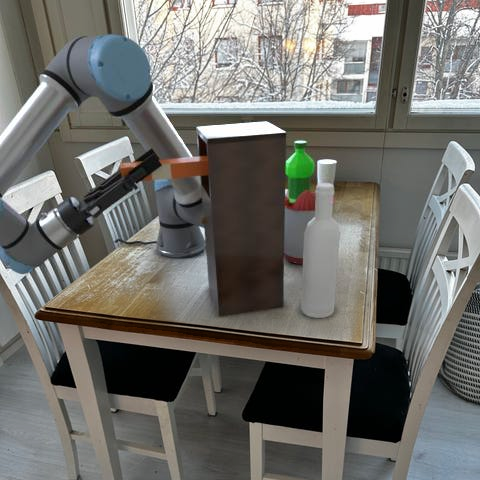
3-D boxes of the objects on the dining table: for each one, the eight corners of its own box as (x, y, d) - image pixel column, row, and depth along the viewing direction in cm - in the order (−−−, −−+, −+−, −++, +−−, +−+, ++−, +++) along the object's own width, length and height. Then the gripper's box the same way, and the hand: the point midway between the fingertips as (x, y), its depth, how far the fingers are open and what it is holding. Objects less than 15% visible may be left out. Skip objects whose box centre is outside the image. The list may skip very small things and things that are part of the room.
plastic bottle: (281, 217, 168) (282, 144, 155) (288, 207, 176) (289, 138, 163) (308, 219, 165) (311, 145, 152) (314, 209, 173) (317, 139, 160)
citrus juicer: (311, 241, 148) (314, 177, 137) (340, 262, 134) (347, 193, 123) (266, 250, 143) (266, 185, 133) (292, 272, 129) (294, 201, 119)
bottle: (316, 322, 107) (324, 193, 91) (294, 308, 112) (297, 184, 96) (341, 311, 111) (353, 185, 95) (318, 298, 116) (325, 177, 100)
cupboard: (267, 281, 125) (267, 121, 104) (283, 307, 113) (286, 132, 92) (205, 290, 122) (191, 127, 101) (214, 317, 110) (201, 139, 89)
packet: (122, 183, 95) (120, 168, 93) (122, 177, 98) (120, 163, 97) (228, 173, 98) (227, 158, 97) (224, 168, 102) (223, 154, 101)
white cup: (337, 184, 201) (339, 160, 195) (330, 188, 195) (332, 164, 190) (320, 182, 204) (322, 158, 199) (313, 186, 199) (314, 162, 193)
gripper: (50, 221, 89) (148, 149, 86) (59, 195, 103) (143, 133, 101) (77, 250, 93) (172, 182, 90) (82, 221, 108) (164, 162, 105)
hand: (156, 156), depth 96 cm, fingers closed on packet, 5 cm apart
